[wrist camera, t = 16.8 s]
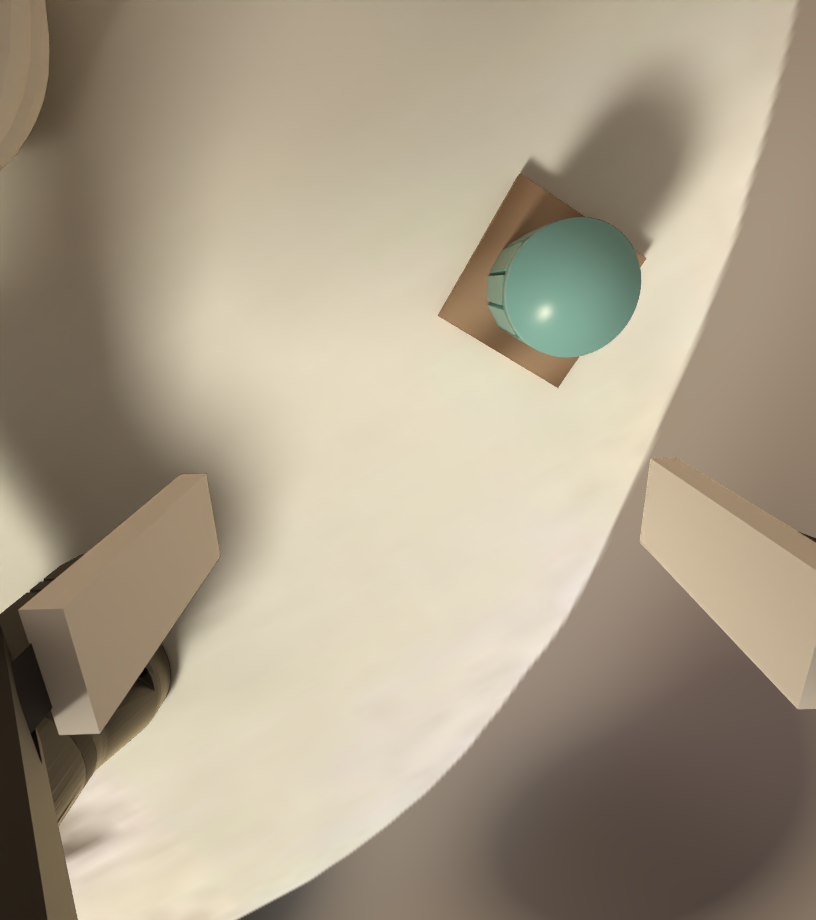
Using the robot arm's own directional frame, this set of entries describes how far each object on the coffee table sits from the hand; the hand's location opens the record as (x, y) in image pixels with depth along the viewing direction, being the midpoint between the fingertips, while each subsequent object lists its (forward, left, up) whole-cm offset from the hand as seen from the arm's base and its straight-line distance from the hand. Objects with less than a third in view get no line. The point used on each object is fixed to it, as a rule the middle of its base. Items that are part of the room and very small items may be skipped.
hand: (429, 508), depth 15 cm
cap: (+4, +9, -22) cm, 24 cm away
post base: (+4, +9, -24) cm, 26 cm away
